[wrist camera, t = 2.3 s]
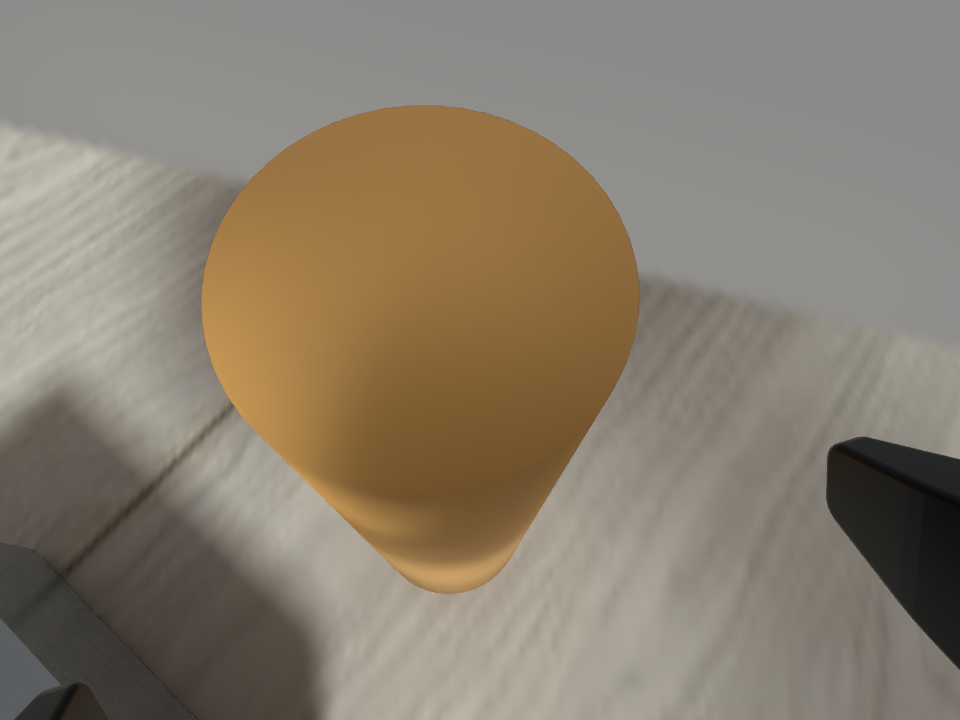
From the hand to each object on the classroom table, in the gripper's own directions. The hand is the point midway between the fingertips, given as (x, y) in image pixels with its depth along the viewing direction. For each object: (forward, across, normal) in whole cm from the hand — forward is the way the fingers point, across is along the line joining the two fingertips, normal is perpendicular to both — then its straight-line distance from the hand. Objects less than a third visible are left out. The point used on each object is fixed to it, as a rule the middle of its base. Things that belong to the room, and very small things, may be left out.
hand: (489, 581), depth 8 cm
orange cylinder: (+8, 0, +5) cm, 10 cm away
